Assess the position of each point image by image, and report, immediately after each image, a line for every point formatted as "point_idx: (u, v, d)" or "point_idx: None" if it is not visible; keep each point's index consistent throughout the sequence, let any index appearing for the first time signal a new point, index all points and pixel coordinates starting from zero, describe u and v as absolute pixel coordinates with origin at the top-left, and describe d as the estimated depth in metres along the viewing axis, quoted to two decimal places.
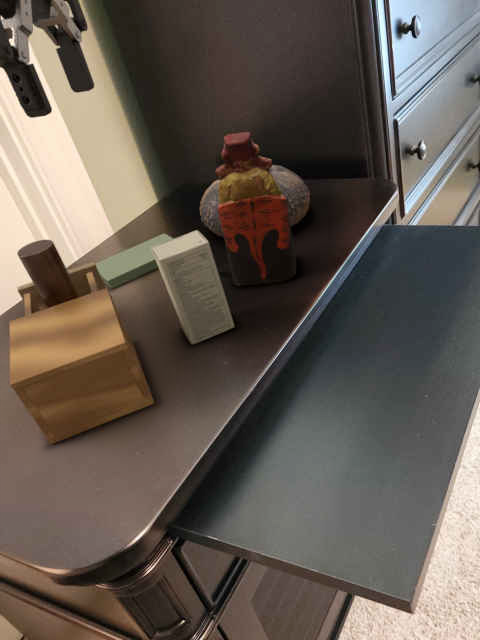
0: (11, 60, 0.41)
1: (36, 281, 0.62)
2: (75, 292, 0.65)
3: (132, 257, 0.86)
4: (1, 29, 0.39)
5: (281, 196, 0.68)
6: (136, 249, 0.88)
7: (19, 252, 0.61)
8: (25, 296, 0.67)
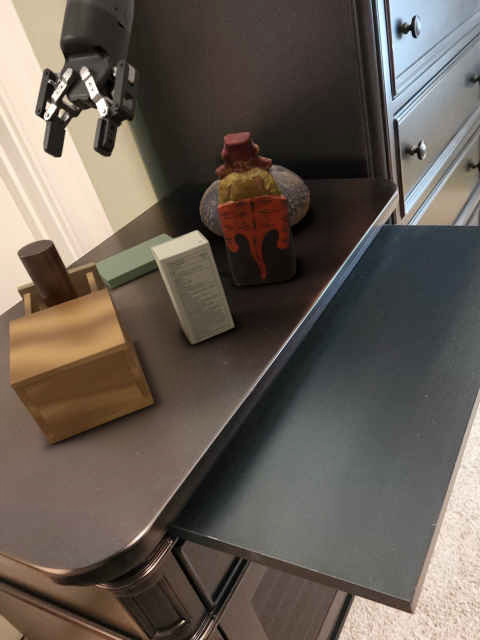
0: (122, 120, 0.62)
1: (36, 281, 0.62)
2: (75, 292, 0.65)
3: (132, 257, 0.86)
4: None
5: (281, 196, 0.68)
6: (136, 249, 0.88)
7: (19, 252, 0.61)
8: (25, 296, 0.67)
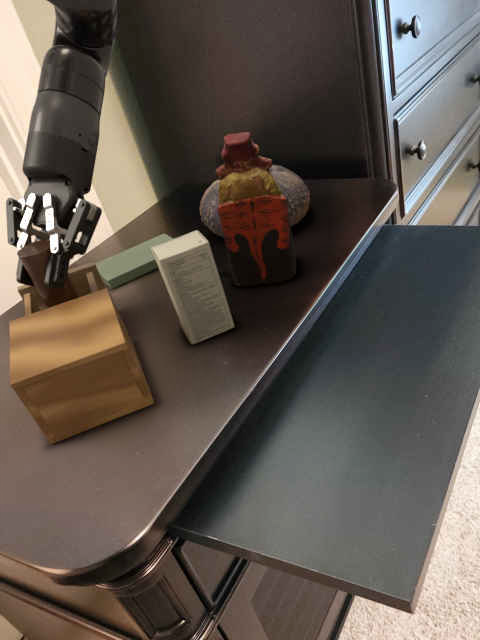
0: None
1: (36, 281, 0.62)
2: (75, 292, 0.65)
3: (132, 257, 0.86)
4: None
5: (281, 196, 0.68)
6: (136, 249, 0.88)
7: (19, 252, 0.61)
8: (25, 296, 0.67)
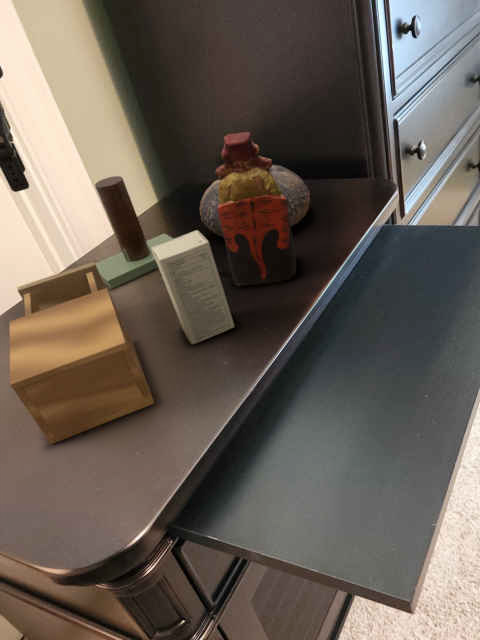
0: (10, 156, 0.63)
1: (108, 208, 0.79)
2: (137, 220, 0.82)
3: None
4: (7, 137, 0.62)
5: (281, 196, 0.68)
6: None
7: (96, 185, 0.78)
8: (25, 296, 0.67)
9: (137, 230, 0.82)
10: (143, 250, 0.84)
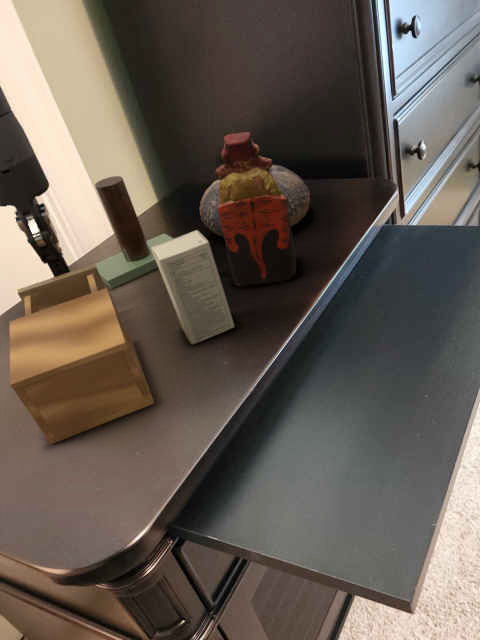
0: None
1: (108, 208, 0.79)
2: (137, 220, 0.82)
3: None
4: (56, 247, 0.70)
5: (281, 196, 0.68)
6: None
7: (96, 185, 0.78)
8: (25, 299, 0.67)
9: (137, 230, 0.82)
10: (143, 250, 0.84)
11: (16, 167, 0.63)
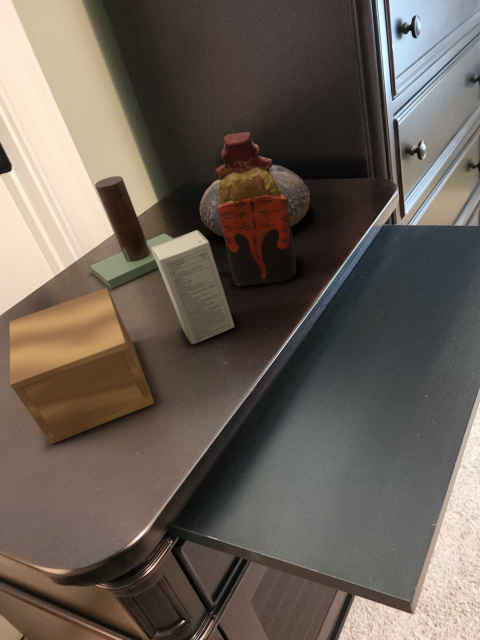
0: None
1: (108, 208, 0.79)
2: (137, 220, 0.82)
3: None
4: None
5: (281, 196, 0.68)
6: None
7: (96, 185, 0.78)
8: None
9: (137, 230, 0.82)
10: (143, 250, 0.84)
11: None
